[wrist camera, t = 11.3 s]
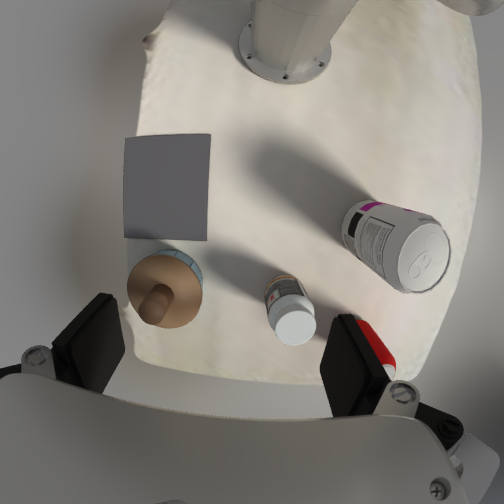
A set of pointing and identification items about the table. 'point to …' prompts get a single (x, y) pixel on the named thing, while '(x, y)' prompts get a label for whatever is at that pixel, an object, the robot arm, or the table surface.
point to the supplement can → (398, 245)
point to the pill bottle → (289, 310)
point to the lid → (164, 291)
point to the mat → (166, 187)
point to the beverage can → (379, 348)
